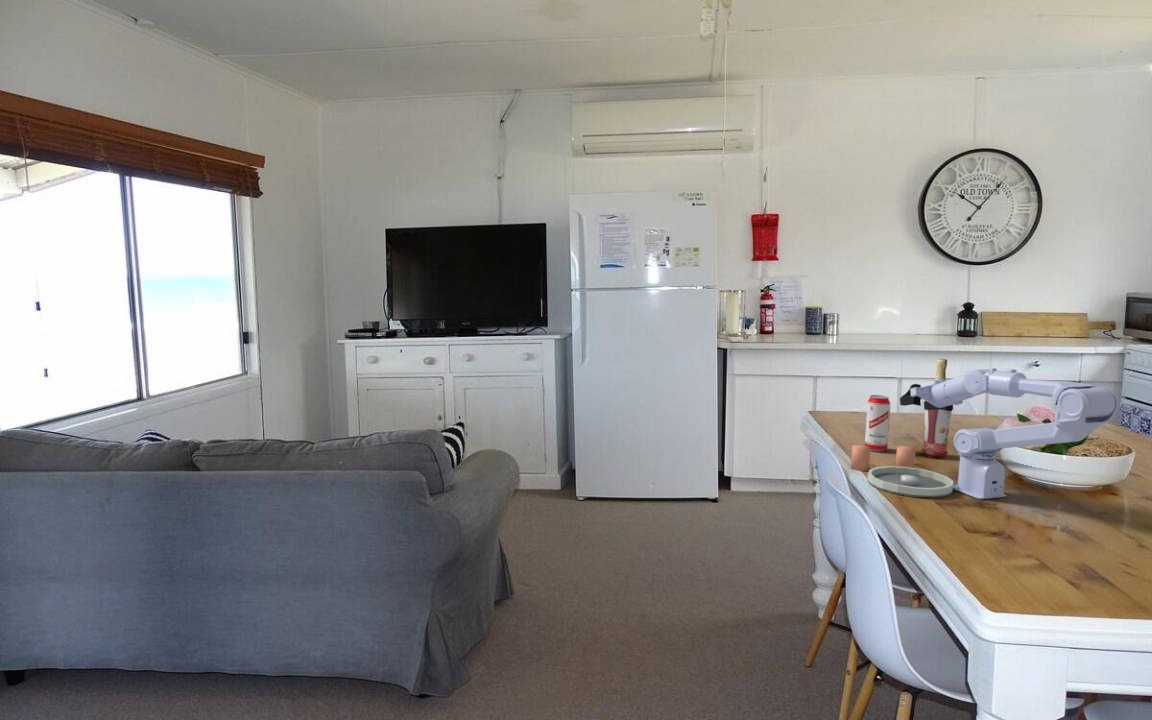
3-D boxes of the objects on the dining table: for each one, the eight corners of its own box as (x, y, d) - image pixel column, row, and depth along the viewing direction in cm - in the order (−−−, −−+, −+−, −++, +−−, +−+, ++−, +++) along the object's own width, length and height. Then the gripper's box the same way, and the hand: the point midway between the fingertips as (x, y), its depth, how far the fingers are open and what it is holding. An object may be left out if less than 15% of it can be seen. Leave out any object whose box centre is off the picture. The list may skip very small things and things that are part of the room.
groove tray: (970, 494, 172) (971, 485, 171) (905, 500, 166) (905, 491, 166) (912, 472, 190) (913, 464, 190) (851, 477, 184) (852, 469, 184)
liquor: (941, 460, 202) (949, 361, 198) (915, 455, 207) (923, 358, 204) (953, 456, 206) (961, 359, 203) (927, 451, 212) (934, 357, 208)
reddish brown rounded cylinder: (872, 470, 191) (874, 448, 190) (858, 471, 190) (859, 449, 189) (861, 465, 196) (862, 444, 195) (847, 467, 194) (848, 445, 193)
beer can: (889, 453, 209) (893, 399, 207) (866, 451, 211) (870, 398, 209) (884, 447, 215) (888, 395, 213) (862, 446, 217) (865, 394, 215)
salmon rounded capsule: (917, 471, 191) (919, 449, 190) (903, 472, 189) (905, 450, 189) (905, 467, 195) (907, 445, 194) (891, 468, 194) (893, 446, 193)
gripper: (974, 380, 182) (934, 393, 194) (927, 370, 178) (889, 385, 191) (977, 407, 180) (936, 419, 192) (930, 398, 176) (891, 410, 188)
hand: (913, 403), depth 191 cm, fingers open, 7 cm apart
